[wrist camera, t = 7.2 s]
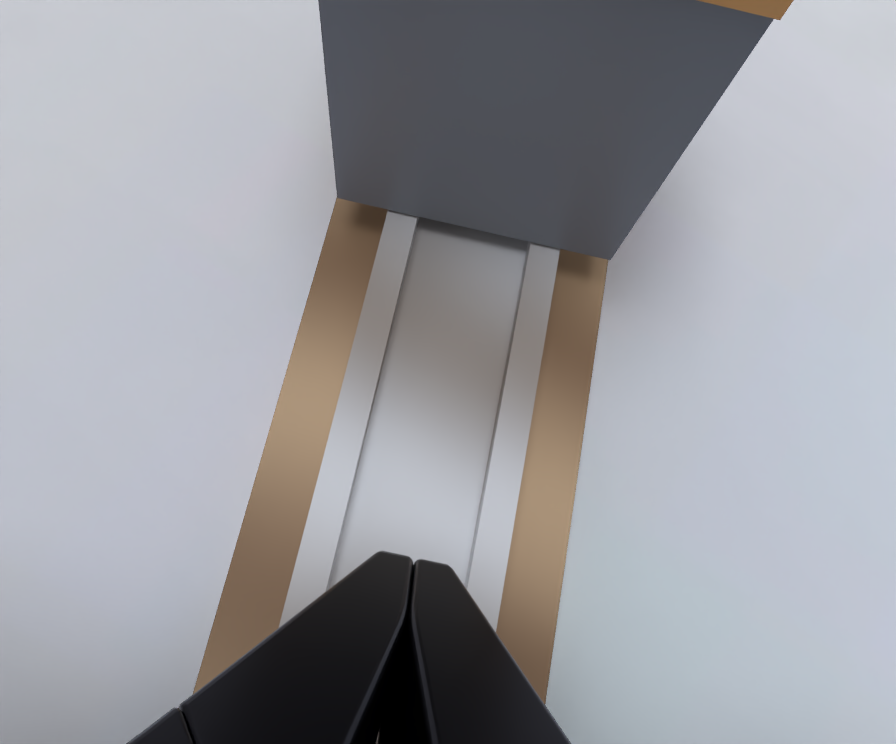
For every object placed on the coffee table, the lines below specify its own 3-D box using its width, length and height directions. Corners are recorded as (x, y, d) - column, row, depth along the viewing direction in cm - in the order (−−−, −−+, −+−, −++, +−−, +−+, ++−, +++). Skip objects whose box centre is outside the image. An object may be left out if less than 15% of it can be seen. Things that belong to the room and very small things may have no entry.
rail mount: (511, 827, 13) (604, 979, 8) (186, 761, 13) (54, 870, 8) (624, 68, 19) (721, -144, 13) (399, 16, 19) (408, -221, 13)
